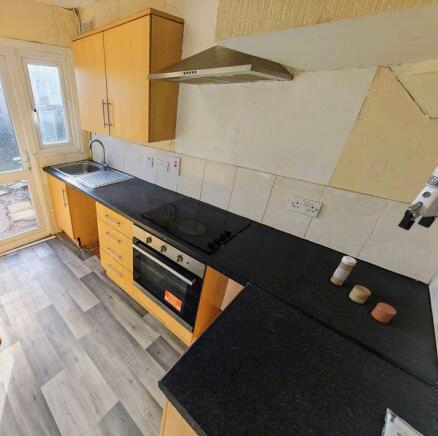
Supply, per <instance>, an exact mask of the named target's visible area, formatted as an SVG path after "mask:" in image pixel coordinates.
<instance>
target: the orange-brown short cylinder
mask: <svg viewBox="0 0 438 436" xmlns="http://www.w3.org/2000/svg"><path fill="white" fill-rule="evenodd" d="M370 314H371V317H373V318H374V319H375V320H377V321H378V322H381V323H385V324H388V323H390V322H391V320H392V319H393V318H394V317H395V316H396V315H397V310H396V308H394V307H393V306H391V305H390V304H388V303H385V302H378V303H377V304H376V306H374V308H373V309H372V311H371V312H370Z"/></svg>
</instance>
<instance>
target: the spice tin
mask: <svg viewBox="0 0 438 436" xmlns="http://www.w3.org/2000/svg"><path fill="white" fill-rule="evenodd" d="M371 294H372V292H371V291H370V289H369V288H366V287H365V286H363V285H359V284H357V285H354V287H353V288H352V289H351V291H350V293H349V294H348V296H349V298H350V299H351V300H352V301H353V302H355V303H358V304H365V303H366V302H367V300H368V299H369V297H370V296H371Z"/></svg>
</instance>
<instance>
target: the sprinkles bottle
mask: <svg viewBox="0 0 438 436" xmlns="http://www.w3.org/2000/svg"><path fill="white" fill-rule="evenodd" d="M356 264H357V260H356V259H355V258H354V257H352V256H349V255H345V256H343V257H342V258H341V261H340V263H339V264H338V266H337V268H336V269H335V271H334V273H333V275H332V276H331V278H330V281H331V282H332V283H333V284H335V285H337V286H342V285H343V284H344V282H345V281H346V280H347V278H348V276H349V274H350V273H351V271H353V268H354V267H355V266H356Z"/></svg>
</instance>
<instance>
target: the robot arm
mask: <svg viewBox="0 0 438 436" xmlns="http://www.w3.org/2000/svg"><path fill="white" fill-rule="evenodd" d="M420 216H421V218H419V217H420ZM418 218H419V220H418V222H417V225H419V226H421V227H424V228H426V229H429V228H430V227H431V226H432V225H433V224H434V222H435V221H436V219H438V165H436V167H435V168H434V170H433V172H432V174H431V175H430V177H429V178H428V179H427V181H426V182H425V187H424V188H423V189H422V190H421V191H420V192H419V194H418V195H416V197H415V199H414V200H413V201H412V203H411V204H410V205H409V206H408V207H406V209H405V212H404V214H403V216H402V218H401V220H400V221H399V223H398V224H397V227H398V228H401V229H403V230H405V231H410V230H411V229H412V227H413V225H415V223H416V219H418Z"/></svg>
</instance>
